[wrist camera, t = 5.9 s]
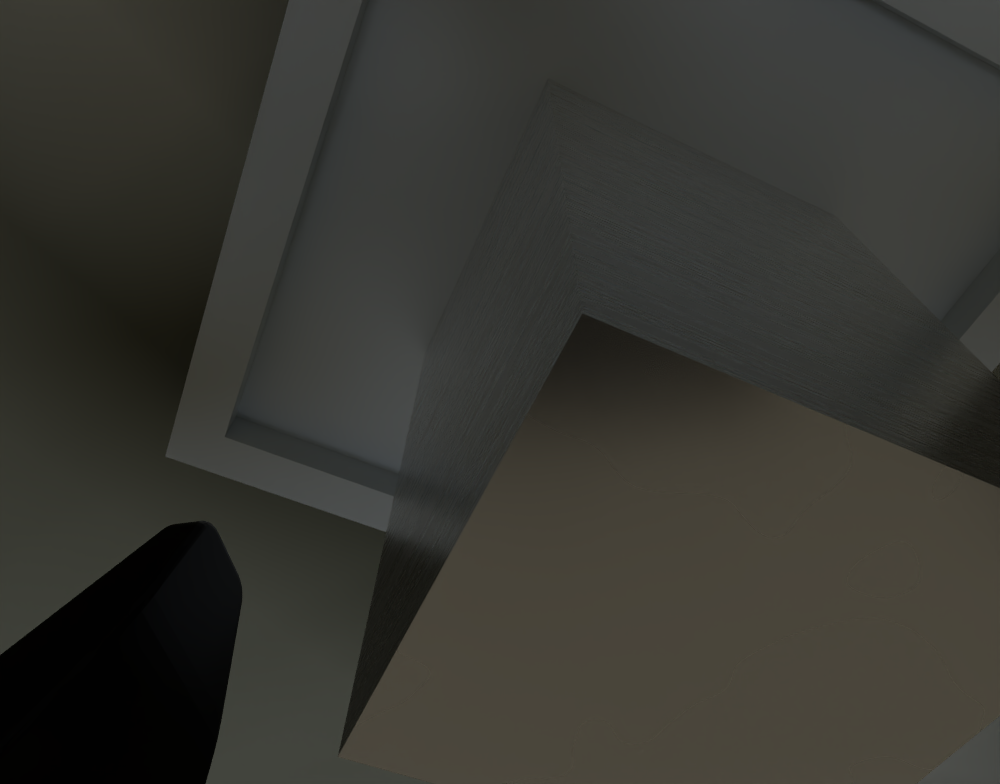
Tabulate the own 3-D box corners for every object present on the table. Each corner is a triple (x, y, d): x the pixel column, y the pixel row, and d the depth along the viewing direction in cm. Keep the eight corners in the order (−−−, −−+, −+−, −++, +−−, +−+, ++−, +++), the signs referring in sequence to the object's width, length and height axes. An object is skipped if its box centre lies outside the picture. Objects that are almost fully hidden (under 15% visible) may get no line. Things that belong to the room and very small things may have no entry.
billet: (673, 449, 13) (792, 884, 8) (424, 352, 13) (338, 756, 7) (834, 214, 11) (1184, 565, 5) (548, 78, 10) (582, 313, 4)
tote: (726, 606, 16) (740, 653, 15) (190, 416, 14) (164, 456, 13) (1164, 85, 11) (1231, 104, 10) (406, -347, 9) (392, -380, 8)
